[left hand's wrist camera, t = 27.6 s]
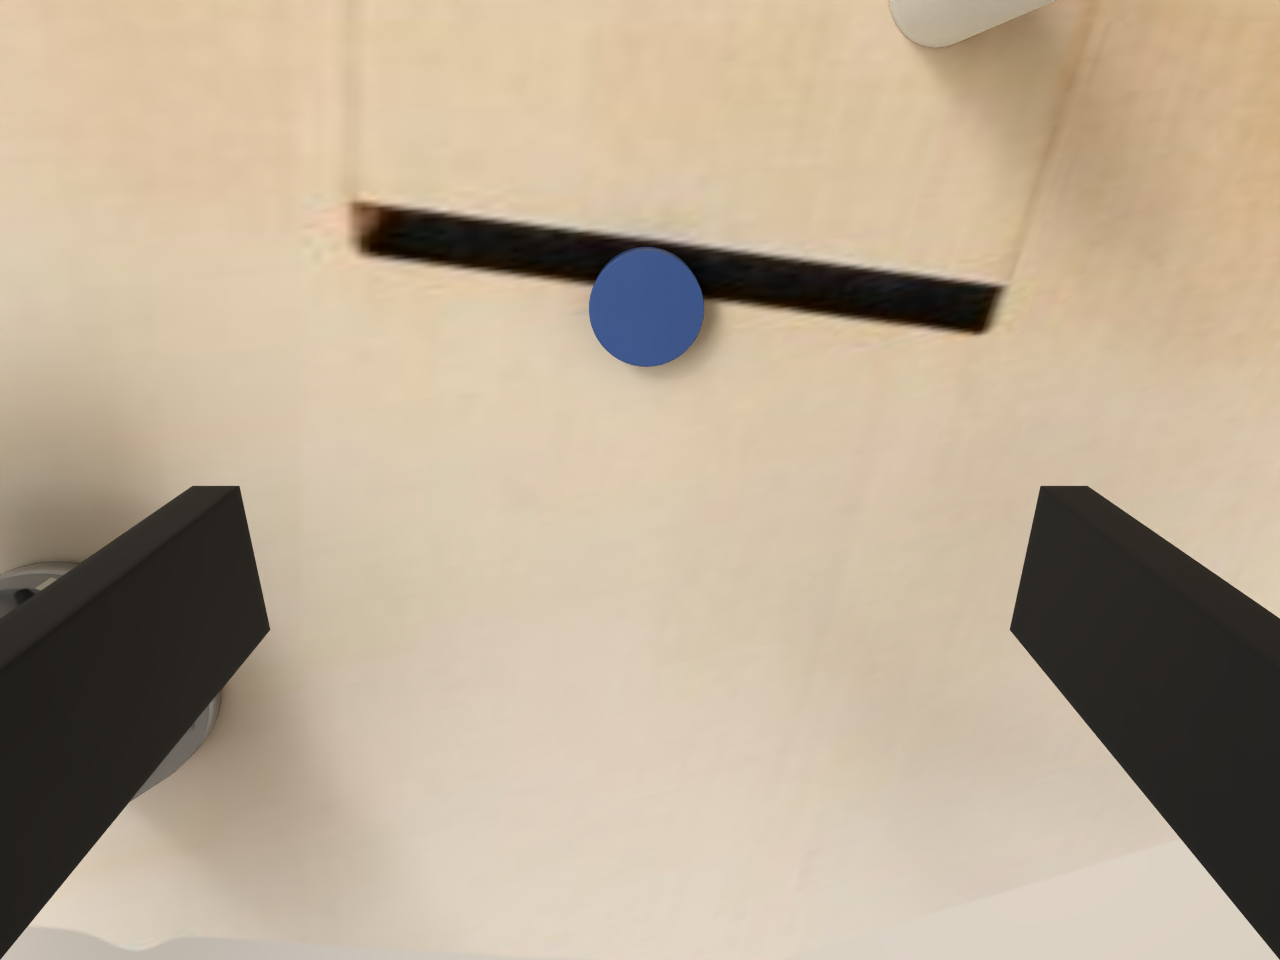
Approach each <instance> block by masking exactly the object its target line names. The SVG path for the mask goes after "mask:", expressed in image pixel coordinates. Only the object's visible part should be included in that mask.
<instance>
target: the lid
mask: <svg viewBox="0 0 1280 960" xmlns="http://www.w3.org/2000/svg"><path fill="white" fill-rule="evenodd" d="M589 315H590V321H591V325H592V328H593V331H594V333H595V335H596V337H597V339H598V340H599V342H600V343H601V345H602V346H603V347H604V348H605V349H606V350H607V351H608V352H609V353H610V354H611V355H613V356H614V357H616V358H617V359H619V360H621V361H623V362H625V363H628V364H631V365H636V366H645V367H649V366H657V365H662V364H665V363H667V362H670V361H672V360H674V359H676V358H677V357H679V356H680V355H681V354H683V353H684V352H685V351H686V350H687V349H688V348H689V347H690V346H691V345H692V343H693V342H694V340H695V339H696V337H697V335H698V333H699V331H700V328H701V325H702V321H703V316H704V301H703V295H702V291H701V288H700V286H699V284H698V281H697V279H696V278H695V276H694V274H693V273H692V271H691V269H690V268H689V267H688V266H687V265H686V263H685V262H683V261H682V260H681V259H680V258H679V257H677V256H676V255H674V254H672V253H670V252H668V251H666V250H663V249H660V248H655V247H638V248H633V249H630V250H627V251H624V252H622V253H620V254H619V255H617V256H616V257H614V258H613V259H611V260H610V261H609V262H608V263H607V264H606V265H605V267H604V268H603V269H602V270H601V272H600V274H599V275H598V277H597V279H596V282H595V284H594V286H593V289H592V292H591V295H590V302H589Z"/></svg>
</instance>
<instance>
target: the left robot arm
mask: <svg viewBox="0 0 1280 960" xmlns="http://www.w3.org/2000/svg"><path fill="white" fill-rule="evenodd" d="M269 631H270V627H269V622H268V617H267V613H266V608H265V603H264V599H263V594H262V589H261V585H260V580H259V575H258V571H257V566H256V561H255V557H254V552H253V547H252V543H251V538H250V533H249V529H248V524H247V519H246V515H245V510H244V505H243V501H242V496H241V491H240V487H239V486H192V487H190V488H189V489H188V490H186V491H185V492H183V493H182V494H180V495H179V496H177V497H176V498H175V499H173V500H172V501H170V502H169V503H167V504H166V505H164V506H163V507H161V508H160V509H159V510H157V511H156V512H154V513H153V514H151V515H150V516H148V517H147V518H145V519H144V520H143V521H141V522H140V523H138V524H137V525H135V526H134V527H132V528H131V529H130V530H128V531H127V532H125V533H124V534H122V535H121V536H119V537H118V538H116V539H115V540H114V541H112V542H111V543H109V544H108V545H106V546H105V547H103V548H102V549H101V550H99V551H98V552H96V553H95V554H93V555H92V556H90V557H89V558H87V559H86V560H85V561H83V562H82V563H80V564H75V563H63V562H51V563H39V564H32V565H27V566H23V567H20V568H16V569H14V570H11V571H8V572H6V573H4V574H2V575H0V959H1V958H2V957H3V956H4V954H5V953H6V952H7V951H8V950H9V948H10V947H11V946H12V945H13V943H14V942H15V941H16V940H17V939H18V937H19V936H20V935H21V934H22V932H23V931H24V930H25V929H26V928H27V926H28V925H29V924H30V923H31V921H32V920H33V919H34V918H35V917H36V915H37V914H38V913H39V912H40V910H41V909H42V908H43V907H44V906H45V904H46V903H47V902H48V901H49V899H50V898H51V897H52V896H53V895H54V893H55V892H56V891H57V890H58V888H59V887H60V886H61V885H62V884H63V882H64V881H65V880H66V879H67V877H68V876H69V875H70V874H71V873H72V871H73V870H74V869H75V868H76V866H77V865H78V864H79V863H80V862H81V860H82V859H83V858H84V857H85V855H86V854H87V853H88V852H89V851H90V849H91V848H92V847H93V846H94V844H95V843H96V842H97V841H98V840H99V838H100V837H101V836H102V835H103V833H104V832H105V831H106V830H107V829H108V827H109V826H110V825H111V824H112V822H113V821H114V820H115V819H116V818H117V816H118V815H119V814H120V813H121V811H122V810H123V809H124V808H125V807H126V805H127V804H128V803H129V802H130V801H132V800H133V799H135V798H136V797H138V796H139V795H141V794H142V793H144V792H146V791H147V790H149V789H150V788H152V787H153V786H155V785H156V784H158V783H159V782H161V781H162V780H164V779H165V778H167V777H168V776H170V775H171V774H172V773H174V772H175V771H176V770H177V769H178V768H179V767H180V766H182V765H183V764H184V763H185V762H186V761H187V760H188V759H189V758H190V757H191V756H192V755H193V754H194V752H195V751H196V750H197V749H198V747H199V746H200V745H201V744H202V742H203V741H204V740H205V738H206V737H207V736H208V734H209V733H210V731H211V729H212V728H213V726H214V723H215V721H216V719H217V715H218V712H219V707H220V698H221V689H222V688H223V687H224V686H225V684H226V683H227V682H228V681H229V679H230V678H231V677H232V676H233V675H234V673H235V672H236V671H237V670H238V668H239V667H240V666H241V665H242V664H243V662H244V661H245V660H246V659H247V657H248V656H249V655H250V654H251V653H252V651H253V650H254V649H255V648H256V646H257V645H258V644H259V643H260V642H261V640H262V639H263V638H264V637H265V635H266V634H267V633H268V632H269ZM1010 631H1011V632H1012V633H1013V634H1014V635H1015V637H1016V638H1017V639H1018V640H1019V642H1020V643H1021V644H1022V645H1023V646H1024V648H1025V649H1026V650H1027V651H1028V653H1029V654H1030V655H1031V656H1032V657H1033V659H1034V660H1035V661H1036V662H1037V664H1038V665H1039V666H1040V667H1041V668H1042V670H1043V671H1044V672H1045V673H1046V675H1047V676H1048V677H1049V678H1050V679H1051V681H1052V682H1053V683H1054V684H1055V686H1056V687H1057V688H1058V689H1059V690H1060V692H1061V693H1062V694H1063V695H1064V697H1065V698H1066V699H1067V700H1068V701H1069V703H1070V704H1071V705H1072V706H1073V708H1074V709H1075V710H1076V711H1077V712H1078V714H1079V715H1080V716H1081V717H1082V719H1083V720H1084V721H1085V722H1086V723H1087V725H1088V726H1089V727H1090V728H1091V730H1092V731H1093V732H1094V733H1095V734H1096V736H1097V737H1098V738H1099V739H1100V741H1101V742H1102V743H1103V744H1104V745H1105V747H1106V748H1107V749H1108V750H1109V752H1110V753H1111V754H1112V755H1113V756H1114V758H1115V759H1116V760H1117V761H1118V763H1119V764H1120V765H1121V766H1122V767H1123V769H1124V770H1125V771H1126V772H1127V774H1128V775H1129V776H1130V777H1131V778H1132V780H1133V781H1134V782H1135V783H1136V785H1137V786H1138V787H1139V788H1140V789H1141V791H1142V792H1143V793H1144V794H1145V796H1146V797H1147V798H1148V799H1149V800H1150V802H1151V803H1152V804H1153V805H1154V807H1155V808H1156V809H1157V810H1158V811H1159V813H1160V814H1161V815H1162V816H1163V818H1164V819H1165V820H1166V821H1167V822H1168V824H1169V825H1170V826H1171V827H1172V829H1173V830H1174V831H1175V832H1176V833H1177V835H1178V836H1179V837H1180V838H1181V840H1182V841H1183V842H1184V843H1185V844H1186V846H1187V847H1188V848H1189V849H1190V851H1191V852H1192V853H1193V854H1194V855H1195V857H1196V858H1197V859H1198V860H1199V862H1200V863H1201V864H1202V865H1203V866H1204V868H1205V869H1206V870H1207V871H1208V873H1209V874H1210V875H1211V876H1212V877H1213V879H1214V880H1215V881H1216V882H1217V883H1218V885H1219V886H1220V887H1221V888H1222V890H1223V891H1224V892H1225V893H1226V895H1227V896H1228V897H1229V898H1230V899H1231V901H1232V902H1233V903H1234V904H1235V906H1236V907H1237V908H1238V909H1239V910H1240V912H1241V913H1242V914H1243V915H1244V917H1245V918H1246V919H1247V920H1248V921H1249V923H1250V924H1251V925H1252V926H1253V928H1254V929H1255V930H1256V931H1257V932H1258V934H1259V935H1260V936H1261V937H1262V939H1263V940H1264V941H1265V942H1266V943H1267V945H1268V946H1269V947H1270V948H1271V950H1272V951H1273V952H1274V953H1275V954H1276V956H1277V957H1278V958H1279V959H1280V618H1278V617H1277V616H1275V615H1274V614H1272V613H1271V612H1269V611H1268V610H1267V609H1265V608H1264V607H1262V606H1261V605H1259V604H1258V603H1256V602H1255V601H1253V600H1252V599H1251V598H1249V597H1248V596H1246V595H1245V594H1243V593H1242V592H1240V591H1239V590H1238V589H1236V588H1235V587H1233V586H1232V585H1230V584H1229V583H1227V582H1226V581H1224V580H1223V579H1222V578H1220V577H1219V576H1217V575H1216V574H1214V573H1213V572H1211V571H1210V570H1209V569H1207V568H1206V567H1204V566H1203V565H1201V564H1200V563H1198V562H1197V561H1195V560H1194V559H1193V558H1191V557H1190V556H1188V555H1187V554H1185V553H1184V552H1182V551H1181V550H1179V549H1178V548H1177V547H1175V546H1174V545H1172V544H1171V543H1169V542H1168V541H1166V540H1165V539H1164V538H1162V537H1161V536H1159V535H1158V534H1156V533H1155V532H1153V531H1152V530H1150V529H1149V528H1148V527H1146V526H1145V525H1143V524H1142V523H1140V522H1139V521H1137V520H1136V519H1135V518H1133V517H1132V516H1130V515H1129V514H1127V513H1126V512H1124V511H1123V510H1121V509H1120V508H1119V507H1117V506H1116V505H1114V504H1113V503H1111V502H1110V501H1108V500H1107V499H1105V498H1104V497H1103V496H1101V495H1100V494H1098V493H1097V492H1095V491H1094V490H1092V489H1091V488H1090V487H1088V486H1041V487H1040V491H1039V496H1038V501H1037V505H1036V510H1035V515H1034V519H1033V524H1032V529H1031V533H1030V538H1029V543H1028V547H1027V552H1026V557H1025V561H1024V566H1023V571H1022V575H1021V580H1020V585H1019V589H1018V594H1017V599H1016V603H1015V608H1014V613H1013V617H1012V622H1011V627H1010Z"/></svg>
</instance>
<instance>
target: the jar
mask: <svg viewBox="0 0 1280 960" xmlns="http://www.w3.org/2000/svg"><path fill="white" fill-rule="evenodd" d="M1054 1H1056V0H889V4H890V9H891V12H892V15H893V18H894V20H895V22H896V24H897V26H898V27H899V29H900V30H901V31H902V32H903V34H904V35H905V36H906V37H908V38H909V39H910V40H912V41H913V42H915V43H917V44H920V45H922V46H926V47H935V48H937V47H945V46H949V45H952V44H955V43H958V42H960V41H962V40H965V39H967V38H969V37H972V36H974V35H976V34H979V33H981V32H983V31H986V30H988V29H990V28H993V27H995V26H998V25H1000V24H1002V23H1005V22H1007V21H1009V20H1012V19H1014V18H1016V17H1019V16H1021V15H1023V14H1026V13H1028V12H1030V11H1033V10H1035V9H1037V8H1040V7H1042V6H1045V5H1047V4H1049V3H1052V2H1054Z"/></svg>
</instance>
